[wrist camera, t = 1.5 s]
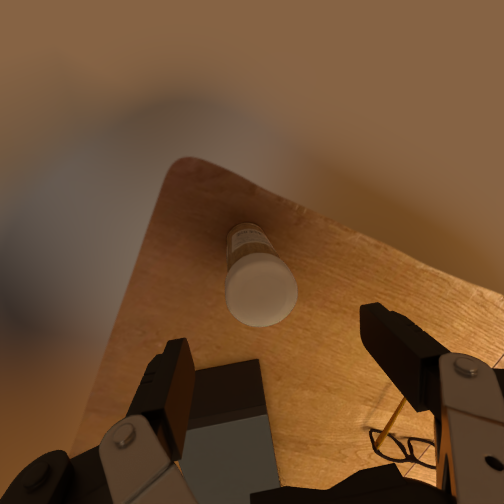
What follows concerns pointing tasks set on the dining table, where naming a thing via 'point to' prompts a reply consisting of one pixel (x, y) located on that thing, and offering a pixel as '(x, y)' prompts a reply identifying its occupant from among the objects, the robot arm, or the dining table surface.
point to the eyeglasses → (385, 433)
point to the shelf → (229, 436)
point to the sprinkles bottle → (257, 278)
